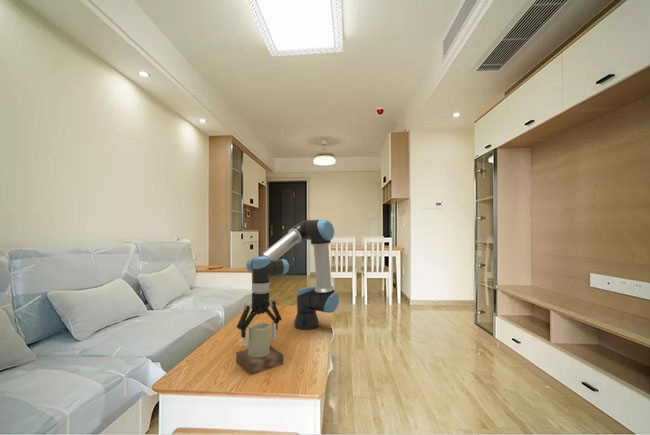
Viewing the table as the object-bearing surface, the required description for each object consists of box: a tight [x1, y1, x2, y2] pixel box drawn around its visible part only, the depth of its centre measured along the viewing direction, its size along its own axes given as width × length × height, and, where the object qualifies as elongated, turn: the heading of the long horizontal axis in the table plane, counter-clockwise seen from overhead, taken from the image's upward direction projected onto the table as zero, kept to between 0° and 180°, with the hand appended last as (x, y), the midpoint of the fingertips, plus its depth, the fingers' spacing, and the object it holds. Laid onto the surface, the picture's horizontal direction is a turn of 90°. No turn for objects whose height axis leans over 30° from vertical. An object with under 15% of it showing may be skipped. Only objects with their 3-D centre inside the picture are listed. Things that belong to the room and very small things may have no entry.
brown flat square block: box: [235, 345, 284, 376], centre depth 122 cm, size 15×15×4 cm
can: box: [248, 322, 271, 358], centre depth 122 cm, size 9×9×12 cm
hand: (259, 341), depth 122 cm, fingers open, 13 cm apart
